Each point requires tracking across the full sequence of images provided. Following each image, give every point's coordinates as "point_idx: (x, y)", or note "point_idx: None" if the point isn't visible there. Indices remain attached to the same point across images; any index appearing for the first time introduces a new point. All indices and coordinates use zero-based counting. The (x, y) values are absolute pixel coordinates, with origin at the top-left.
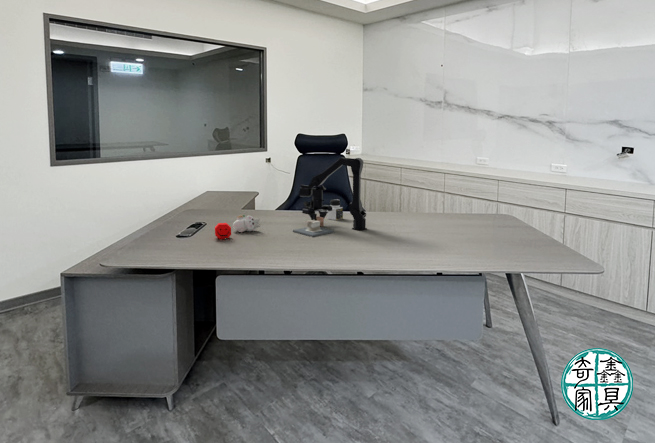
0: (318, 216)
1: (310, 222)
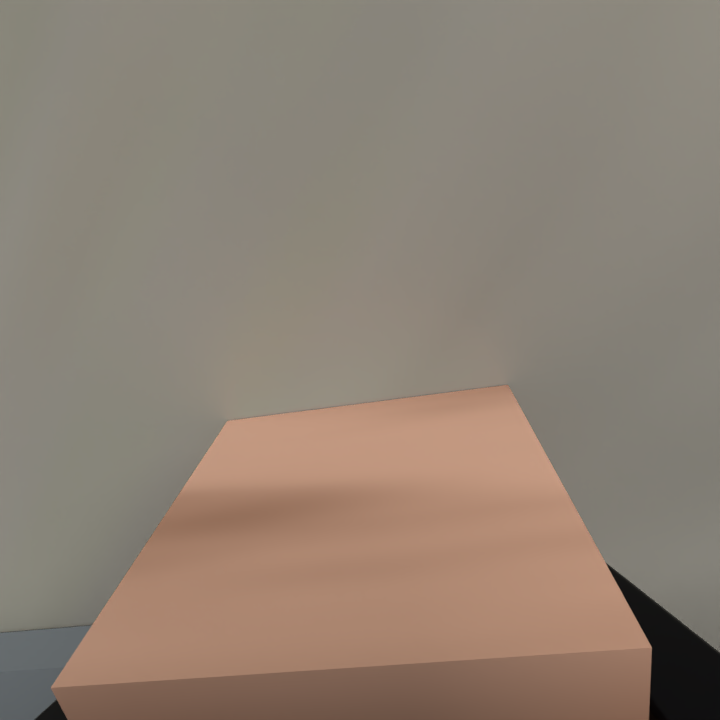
0: (644, 707)
1: None
